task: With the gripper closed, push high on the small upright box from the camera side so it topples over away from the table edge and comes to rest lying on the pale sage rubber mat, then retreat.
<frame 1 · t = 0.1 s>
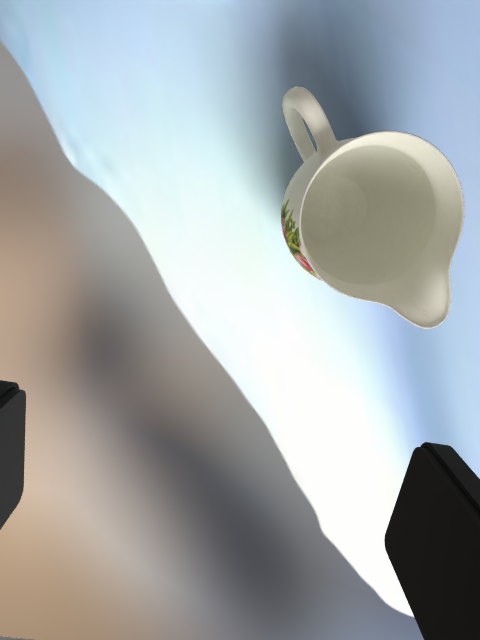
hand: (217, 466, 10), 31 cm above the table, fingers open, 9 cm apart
pitcher: (327, 202, 38), on the table
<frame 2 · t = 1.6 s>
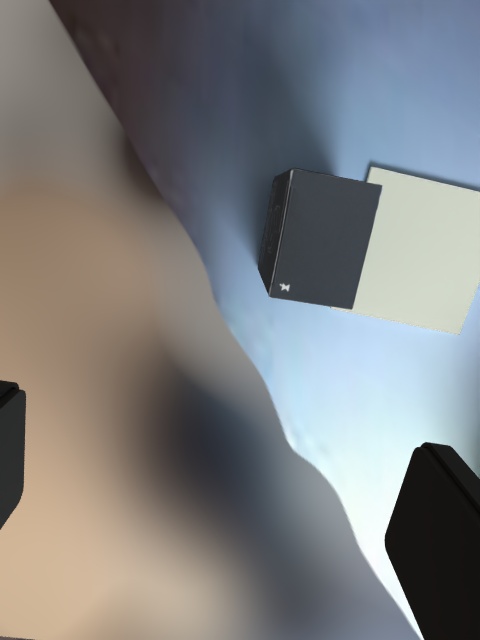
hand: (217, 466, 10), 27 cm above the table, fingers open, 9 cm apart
box: (297, 228, 35), on the table
mat: (416, 255, 36), on the table
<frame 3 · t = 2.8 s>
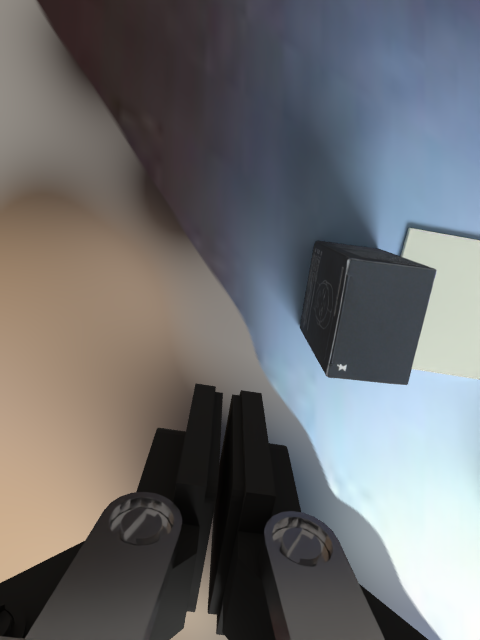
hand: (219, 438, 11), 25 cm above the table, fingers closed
box: (337, 288, 36), on the table
mat: (454, 308, 36), on the table
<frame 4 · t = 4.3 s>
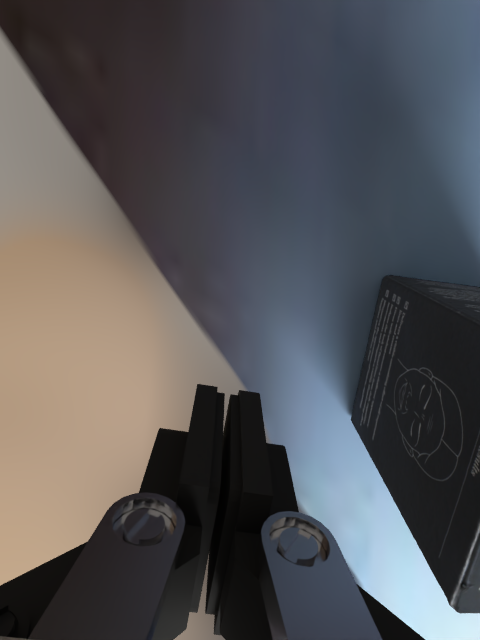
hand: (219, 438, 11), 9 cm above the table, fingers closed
box: (417, 354, 21), on the table
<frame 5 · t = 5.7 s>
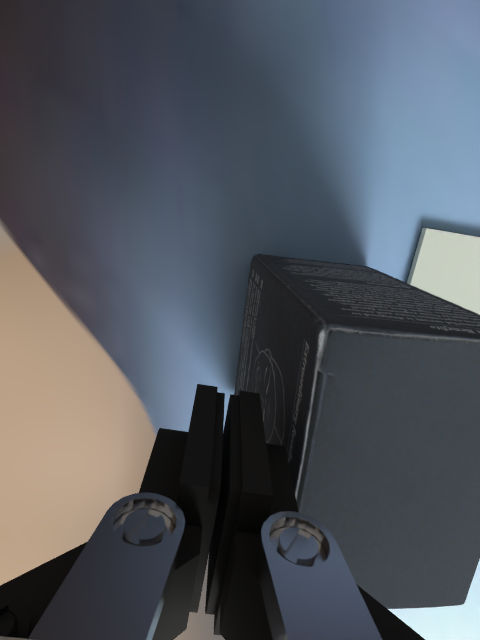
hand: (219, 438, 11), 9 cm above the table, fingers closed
box: (297, 337, 20), on the table, touching gripper
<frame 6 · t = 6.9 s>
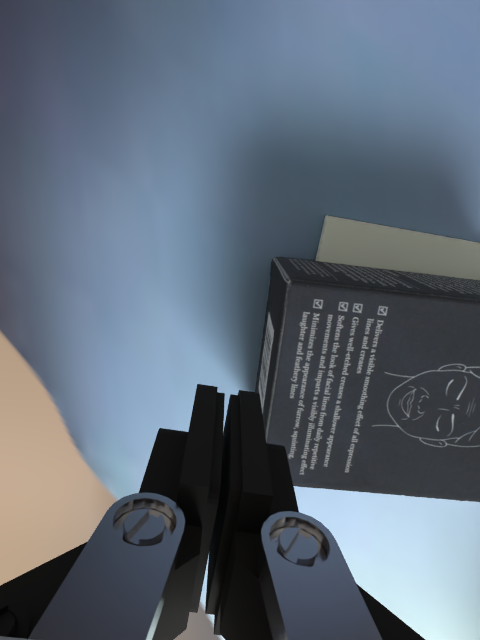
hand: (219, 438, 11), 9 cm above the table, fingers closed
box: (258, 357, 17), point 3 cm above the table, touching mat
mat: (416, 360, 20), on the table
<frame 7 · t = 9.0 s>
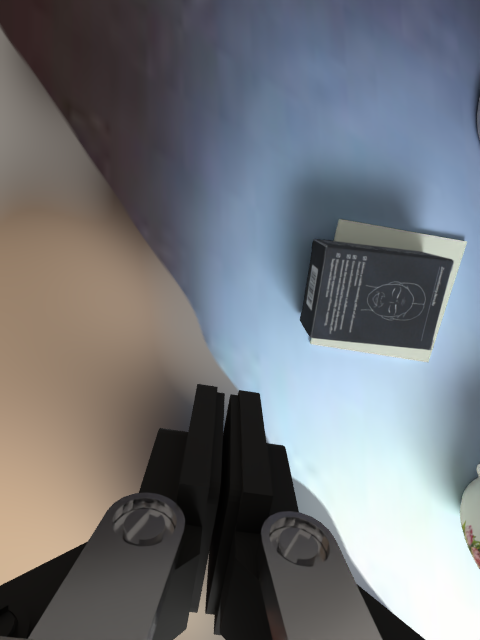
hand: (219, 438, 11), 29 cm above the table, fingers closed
box: (308, 285, 36), point 3 cm above the table, touching mat
mat: (384, 293, 39), on the table
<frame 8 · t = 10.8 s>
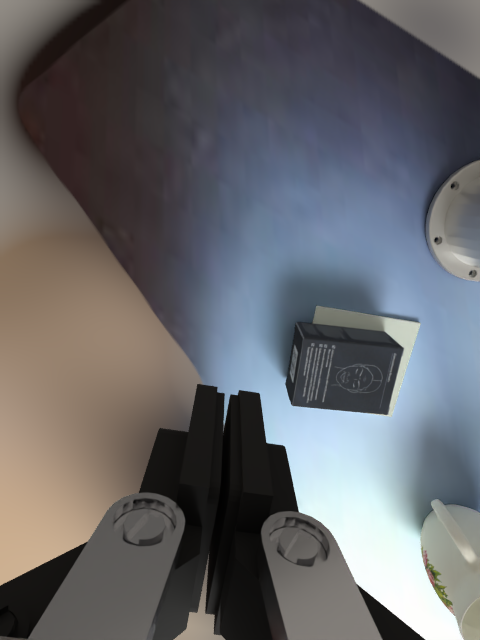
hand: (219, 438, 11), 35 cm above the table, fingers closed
box: (290, 361, 45), point 3 cm above the table, touching mat
mat: (354, 362, 49), on the table
pitcher: (443, 518, 56), on the table
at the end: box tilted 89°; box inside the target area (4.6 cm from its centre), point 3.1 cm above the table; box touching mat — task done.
